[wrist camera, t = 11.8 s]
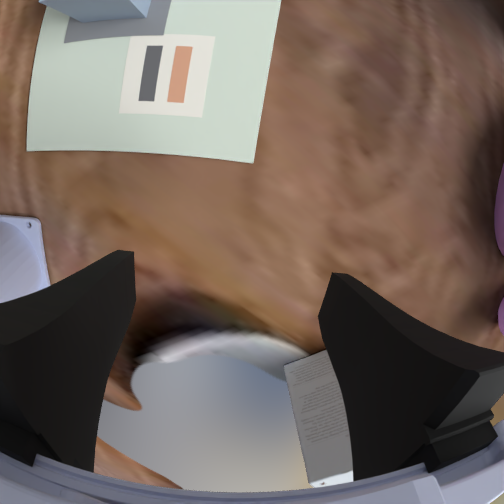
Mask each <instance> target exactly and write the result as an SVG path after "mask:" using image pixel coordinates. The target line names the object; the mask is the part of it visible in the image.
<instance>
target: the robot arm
mask: <svg viewBox="0 0 504 504" xmlns="http://www.w3.org/2000/svg"><path fill="white" fill-rule="evenodd" d="M29 222H30V223H31V226H30V225H29ZM135 302H136V291H135V270H134V252H131V251H123V250H117V251H114V252H112V253H110V254H108V255H107V256H105V257H103V258H101V259H100V260H98V261H96V262H94V263H93V264H91V265H89V266H87V267H86V268H84V269H82V270H80V271H78V272H76V273H75V274H73V275H71V276H69V277H67V278H65V279H63V280H61V281H59V282H57V283H55V284H53V285H50V281H49V275H48V270H47V264H46V259H45V252H44V245H43V238H42V230H41V223H40V221H39V220H38V219H37V218H32V217H21V216H9V215H0V504H489V503H491V502H492V501H494V500H495V499H496V498H498V497H499V496H500V495H501V494H503V493H504V419H503V420H501V421H500V422H498V423H497V424H496V425H494V426H492V424H491V423H490V420H492V419H493V417H494V414H493V413H492V411H491V408H492V407H493V405H494V404H495V403H496V402H497V401H498V400H499V398H500V397H501V396H502V395H503V394H504V352H500V351H495V350H491V349H487V348H483V347H479V346H476V345H473V344H470V343H467V342H464V341H462V340H459V339H456V338H454V337H451V336H449V335H447V334H445V333H442V332H440V331H438V330H436V329H434V328H432V327H430V326H428V325H426V324H424V323H422V322H421V321H419V320H417V319H415V318H413V317H412V316H410V315H408V314H407V313H405V312H404V311H402V310H401V309H399V308H398V307H396V306H395V305H393V304H392V303H390V302H389V301H387V300H386V299H384V298H383V297H382V296H380V295H379V294H377V293H376V292H374V291H373V290H372V289H370V288H369V287H367V286H366V285H364V284H363V283H362V282H360V281H358V280H357V279H355V278H354V277H352V276H350V275H348V274H343V273H332V275H331V278H330V281H329V284H328V287H327V291H326V294H325V297H324V300H323V303H322V306H321V309H320V312H319V315H318V319H319V325H320V330H321V334H322V339H323V342H324V344H325V347H326V350H327V353H328V356H329V358H330V361H331V364H332V366H333V369H334V372H335V375H336V377H337V380H338V383H339V386H340V389H341V393H342V397H343V401H344V406H345V411H346V416H347V422H348V428H349V434H350V442H351V452H352V464H353V482H348V483H342V484H337V485H330V486H324V487H317V488H309V489H301V490H289V491H276V492H252V493H251V492H249V493H248V492H247V493H235V492H234V493H232V492H231V493H230V492H207V491H192V490H182V489H173V488H166V487H158V486H152V485H146V484H140V483H135V482H130V481H125V480H120V479H116V478H112V477H107V476H103V475H100V474H96V473H94V458H95V446H96V438H97V430H98V423H99V418H100V412H101V407H102V402H103V397H104V393H105V388H106V384H107V380H108V377H109V373H110V370H111V368H112V365H113V362H114V360H115V357H116V355H117V352H118V350H119V348H120V345H121V343H122V340H123V338H124V335H125V333H126V331H127V328H128V326H129V323H130V320H131V317H132V313H133V309H134V306H135Z"/></svg>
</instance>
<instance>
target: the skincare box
mask: <svg viewBox="0 0 504 504" xmlns="http://www.w3.org/2000/svg"><path fill="white" fill-rule="evenodd" d="M284 372H285V377H286V381H287V385H288V390H289V394H290V398H291V403H292V408H293V413H294V417H295V422H296V427H297V431H298V436H299V440H300V445H301V449H302V454H303V458H304V462H305V467H306V472H307V477H308V483H309V484H310V485H312V486H313V487H314V488H317V487H324V486H330V485H337V484H342V483H348V482H353V464H352V452H351V442H350V434H349V428H348V422H347V416H346V411H345V406H344V401H343V397H342V393H341V389H340V386H339V383H338V380H337V377H336V375H335V372H334V369H333V366H332V364H331V361H330V358H329V356H328V353H327V350H324V351H322V352H319V353H316V354H314V355H311V356H309V357H306V358H303V359H301V360H298V361H295V362H292V363H289V364H286V365H284Z"/></svg>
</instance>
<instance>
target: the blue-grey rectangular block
mask: <svg viewBox="0 0 504 504" xmlns="http://www.w3.org/2000/svg"><path fill="white" fill-rule="evenodd" d="M39 3H42V4H44V5H46V6H49V7H51V8H53V9H55V10H57V11H59V12H62V13H64V14H66V15H68V16H70V17H72V18H74V19H76V20H78V21H80V22H82V23H85V22H93V21H103V20H114V19H130V18H147V14H148V10H149V6H150V3H151V0H39Z"/></svg>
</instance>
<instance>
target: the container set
mask: <svg viewBox="0 0 504 504" xmlns="http://www.w3.org/2000/svg"><path fill="white" fill-rule="evenodd" d="M494 227H495V236H496V241H497V244H498V248H499V249H500V251H501V253H502V255H503V256H504V164H503V167H502V171H501V174H500V178H499V182H498V188H497V193H496V201H495V210H494ZM498 322H499V328H500V331H501V333H502V334H503V335H504V298H503V300H502V301H501V304H500V306H499V310H498Z"/></svg>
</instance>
